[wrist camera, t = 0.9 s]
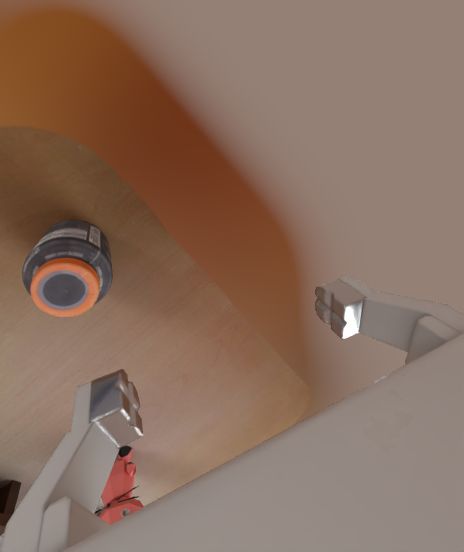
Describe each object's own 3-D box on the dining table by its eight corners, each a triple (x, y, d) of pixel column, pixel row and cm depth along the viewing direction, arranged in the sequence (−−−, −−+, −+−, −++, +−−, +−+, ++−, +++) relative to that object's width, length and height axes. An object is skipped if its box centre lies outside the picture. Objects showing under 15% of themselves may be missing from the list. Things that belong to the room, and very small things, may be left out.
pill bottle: (98, 281, 29) (97, 338, 20) (34, 265, 26) (-4, 322, 17) (118, 232, 28) (126, 266, 19) (53, 208, 25) (24, 235, 16)
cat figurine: (131, 434, 39) (141, 529, 29) (149, 459, 42) (164, 552, 32) (80, 462, 37) (73, 574, 27) (103, 486, 40) (104, 594, 30)
